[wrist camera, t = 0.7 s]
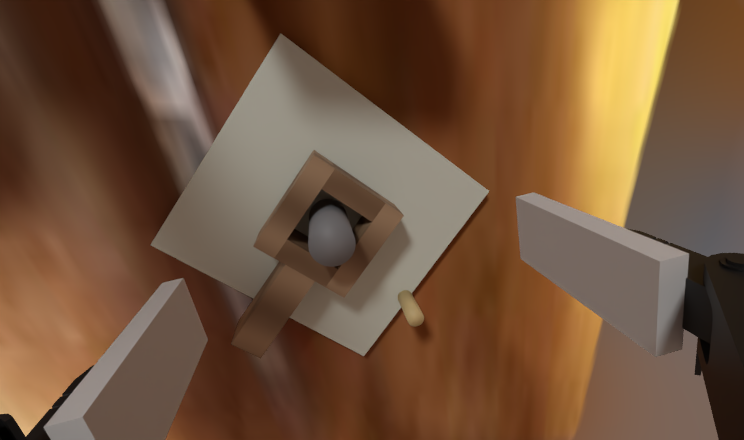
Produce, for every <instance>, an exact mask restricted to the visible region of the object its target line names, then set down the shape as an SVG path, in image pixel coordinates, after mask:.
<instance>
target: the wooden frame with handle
mask: <svg viewBox="0 0 744 440" xmlns="http://www.w3.org/2000/svg"><path fill="white" fill-rule="evenodd" d="M321 189H322V190H323V191H325V192H327V193H328V194H330V195H331V196H333V197H334V198H336V199H337V200H339V201H340V202H342V203H344V204H345V205H347V206H348V207H350V208H351V209H353V210H354V211H356V212H357V213H359V214H360V215H362V216H361V218H360V219H359V221H358V222H357V223H356V225H355V226H354V228H353V229H352V231H353V234H354V237H355V242H356V246H355V251H354V253H353V255H352V257H351V258H350V259H349V260H348V261H347V262H345V263H344V264H342V265H339V266H334V267H328V266H324V265H321V264H319V263H318V262H316V261H315V260H314V259H313V258H312V256H311V254H310V252H309V248H308V236H306V235H304V234H303V233H301V232H299V231H298V230H296V229H295V227H296V226H297V224H298V223H299V221H300V220H301V218H302V217H303V215H304V214H305V212H306V211H307V209H308V208H309V206H310V205H311V204H312V202H313V201H314V199H315V198H316V196H317V195H318V193H319V192H320V190H321ZM403 216H404V215H403V214H402V213H401V211H400V210H399V209H398V208H397V207H396V206H395V204H393V203H392V202H390V201H389V200H387V199H386V198H384V197H383V196H381V195H380V194H378V193H377V192H376V191H374V190H373V189H371V188H370V187H368V186H367V185H365V184H364V183H362V182H361V181H359V180H358V179H356V178H355V177H353V176H352V175H350V174H349V173H348V172H346V171H345V170H343V169H342V168H340V167H339V166H337V165H336V164H334V163H333V162H331V161H330V160H328V159H327V158H325V157H324V156H322V155H321V154H320V153H318V152H317V151H315V150H313V152H312V153H311V155H310V156H309V158H308V159H307V161H306V162H305V164H304V165H303V167H302V168H301V170H300V171H299V173H298V174H297V176H296V177H295V179H294V180H293V182H292V183H291V185H290V186H289V188H288V189H287V191H286V192H285V194H284V195H283V197H282V198H281V200H280V201H279V203H278V204H277V206H276V207H275V209H274V210H273V212H272V213H271V215H270V216H269V218H268V219H267V221H266V222H265V224H264V225H263V227H262V228H261V230H260V231H259V234H258V236H257V239H256V241H255V243H254V246H253V247H255V248H257V249H258V250H260V251H262V252H264V253H265V254H267V255H269V256H271V257H273V258H274V259H276V260H278V261H279V262H278V264H277V265H276V267H275V268H274V270H273V271H272V273H271V274H270V276H269V277H268V279H267V280H266V281H265V283H264V284H263V286H262V287H261V289H260V290H259V292H258V293H257V295H256V296H255V298H254V299H253V300H252V302H251V303H250V305H249V306H248V308H247V309H246V311H245V312H244V314H243V315H242V317H241V318H240V320H239V322H238V324H237V327H236V330H235V333H234V336H233V339H232V342H231V345H233V346H236V347H238V348H240V349H242V350H244V351H246V352H248V353H250V354H252V355H255V356H257V357H259V358H261V357H262V356H263V354H264V353H265V351H266V350H267V349H268V347H269V346H270V344H271V343H272V342H273V340H274V339H275V337H276V336H277V335H278V333H279V332H280V330H281V329H282V327H283V326H284V325H285V323H286V322H287V320H288V319H289V318H290V316H291V315H292V313H293V312H294V311H295V309H296V308H297V306H298V305H299V303H300V302H301V301H302V299H303V298H304V296H305V295H306V294H307V292H308V291H309V289H310V288H311V287H312V285H313V284H314V282H317V283H319V284H320V285H322V286H324V287H326V288H328V289H329V290H331V291H333V292H335V293H336V294H338V295H340V296H342V297H345V296H346V295H347V293H348V292H349V291H350V289H351V288H352V286H353V285H354V284H355V282H356V281H357V280H358V278H359V277H360V275H361V274H362V273H363V271H364V270H365V269H366V267H367V266H368V264H369V263H370V262H371V260H372V259H373V258H374V256H375V255H376V253H377V252H378V251H379V249H380V248H381V247H382V245H383V244H384V242H385V241H386V240H387V238H388V237H389V236H390V234H391V233H392V231H393V230H394V229H395V227H396V226H397V225H398V223H399V222H400V220H401V219H402V218H403Z"/></svg>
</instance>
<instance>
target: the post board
mask: <svg viewBox="0 0 744 440" xmlns="http://www.w3.org/2000/svg"><path fill="white" fill-rule="evenodd" d="M313 150H315V151H317V152H318V153H320V154H321V155H322V156H324V157H325V158H327V159H328V160H330V161H331V162H333V163H334V164H336V165H337V166H339V167H340V168H342V169H343V170H345V171H346V172H348V173H349V174H350V175H352V176H353V177H355V178H356V179H358V180H359V181H361V182H362V183H364V184H365V185H367V186H368V187H370V188H371V189H373V190H374V191H376V192H377V193H378V194H380V195H381V196H383V197H384V198H386V199H387V200H389V201H390V202H392V203H393V204H395V206H396V207H397V208H398V209H399V210H400V211H401V213H402V214H403V215H404V216H403V218H402V219H401V220H400V222H399V223H398V225H397V226H396V227H395V229H394V230H393V231H392V233H391V234H390V236H389V237H388V238H387V240H386V241H385V242H384V244H383V245H382V247H381V248H380V249H379V251H378V252H377V253H376V255H375V256H374V258H373V259H372V260H371V262H370V263H369V264H368V266H367V267H366V269H365V270H364V271H363V273H362V274H361V275H360V277H359V278H358V280H357V281H356V282H355V284H354V285H353V286H352V288H351V289H350V291H349V292H348V293H347V295H346V296H345V297H342V296H340V295H338V294H336V293H335V292H333V291H331V290H329V289H328V288H326V287H324V286H322V285H320V284H319V283H317V282H314V284H313V285H312V287H311V288H310V289H309V291H308V292H307V294H306V295H305V296H304V298H303V299H302V301H301V302H300V303H299V305H298V306H297V308H296V309H295V311H294V312H293V313H292V315H291V316H290V318H291V319H293V320H295V321H297V322H299V323H301V324H303V325H305V326H307V327H309V328H310V329H312V330H314V331H316V332H318V333H320V334H322V335H324V336H326V337H328V338H330V339H332V340H334V341H335V342H337V343H339V344H341V345H343V346H345V347H347V348H349V349H351V350H353V351H355V352H357V353H359V354H360V355H362V356H364V355H365V354H366V353H367V352H368V350H369V349H370V348H371V346H372V345H373V344H374V342H375V341H376V340H377V338H378V337H379V336H380V334H381V333H382V332H383V330H384V329H385V328H386V327H387V325H388V324H389V323H390V321H391V320H392V319H393V317H394V316H395V315H396V313H397V312H398V311H399V309H400V308H402V310H403V312H404V314H405V317H406V319H407V321H408V323H409V324H410V325H411V326H414V327H415V326H419V325H421V324H422V323H423V321H424V315H423V314H422V312H421V310H420V308H419V306H418V304H417V302H416V301H415V299H414V297H413V295H412V292H413V291H414V290H415V288H416V287H417V286H418V284H419V283H420V282H421V280H422V279H423V278H424V277H425V275H426V274H427V273H428V271H429V270H430V269H431V267H432V266H433V265H434V263H435V262H436V261H437V259H438V258H439V257H440V255H441V254H442V253H443V252H444V250H445V249H446V248H447V246H448V245H449V244H450V242H451V241H452V240H453V238H454V237H455V236H456V234H457V233H458V232H459V230H460V229H461V228H462V227H463V225H464V224H465V223H466V221H467V220H468V219H469V217H470V216H471V215H472V213H473V212H474V211H475V209H476V208H477V207H478V205H479V204H480V203H481V202H482V200H483V199H484V198H485V196H486V195H487V194H488V192H489V191H488V190H487V189H485V188H484V187H483V186H482V185H480V184H479V183H478V182H476V181H475V180H474V179H472V178H471V177H470V176H468V175H467V174H466V173H464V172H463V171H462V170H460V169H459V168H458V167H456V166H455V165H454V164H452V163H451V162H450V161H449V160H447V159H446V158H445V157H443V156H442V155H441V154H439V153H438V152H437V151H435V150H434V149H433V148H431V147H430V146H429V145H427V144H426V143H425V142H423V141H422V140H421V139H420V138H418V137H417V136H416V135H414V134H413V133H412V132H410V131H409V130H408V129H406V128H405V127H404V126H402V125H401V124H400V123H398V122H397V121H396V120H394V119H393V118H392V117H391V116H389V115H388V114H387V113H385V112H384V111H383V110H381V109H380V108H379V107H377V106H376V105H375V104H373V103H372V102H371V101H369V100H368V99H367V98H365V97H364V96H363V95H361V94H360V93H359V92H358V91H356V90H355V89H354V88H352V87H351V86H350V85H348V84H347V83H346V82H344V81H343V80H342V79H340V78H339V77H338V76H336V75H335V74H334V73H332V72H331V71H330V70H329V69H327V68H326V67H325V66H323V65H322V64H321V63H319V62H318V61H317V60H315V59H314V58H313V57H311V56H310V55H309V54H307V53H306V52H305V51H303V50H302V49H301V48H300V47H298V46H297V45H296V44H294V43H293V42H292V41H290V40H289V39H288V38H286V37H285V36H284V35H282V34H281V33H280V35H279V37H278V38H277V40H276V42H275V43H274V45H273V46H272V48H271V50H270V51H269V53H268V55H267V56H266V58H265V59H264V61H263V63H262V64H261V66H260V68H259V69H258V71H257V72H256V74H255V76H254V77H253V79H252V81H251V82H250V84H249V85H248V87H247V89H246V90H245V92H244V94H243V95H242V97H241V98H240V100H239V102H238V103H237V105H236V107H235V108H234V110H233V111H232V113H231V115H230V116H229V118H228V120H227V121H226V123H225V124H224V126H223V128H222V129H221V131H220V133H219V134H218V136H217V137H216V139H215V141H214V142H213V144H212V146H211V147H210V149H209V150H208V152H207V154H206V155H205V157H204V159H203V160H202V162H201V164H200V165H199V167H198V168H197V170H196V172H195V173H194V175H193V177H192V178H191V180H190V181H189V183H188V185H187V186H186V188H185V190H184V191H183V193H182V194H181V196H180V198H179V199H178V201H177V203H176V204H175V206H174V207H173V209H172V211H171V212H170V214H169V216H168V217H167V219H166V220H165V222H164V224H163V225H162V227H161V229H160V230H159V232H158V233H157V235H156V237H155V238H154V240H153V242H152V243H151V246H153V247H155V248H157V249H159V250H161V251H163V252H164V253H166V254H168V255H170V256H172V257H174V258H176V259H178V260H180V261H182V262H184V263H186V264H188V265H189V266H191V267H193V268H195V269H197V270H199V271H201V272H203V273H205V274H207V275H209V276H211V277H212V278H214V279H216V280H218V281H220V282H222V283H224V284H226V285H228V286H230V287H232V288H234V289H236V290H237V291H239V292H241V293H243V294H245V295H247V296H249V297H251V298H253V299H254V298H255V296H256V295H257V293H258V292H259V290H260V289H261V287H262V286H263V284H264V283H265V281H266V280H267V279H268V277H269V276H270V274H271V273H272V271H273V270H274V268H275V267H276V265H277V264H278V262H279V261H278V260H276V259H274V258H273V257H271V256H269V255H267V254H265V253H264V252H262V251H260V250H258V249H257V248H255V247H253V246H254V243H255V241H256V239H257V236H258V234H259V231H260V230H261V228H262V227H263V225H264V224H265V222H266V221H267V219H268V218H269V216H270V215H271V213H272V212H273V210H274V209H275V207H276V206H277V204H278V203H279V201H280V200H281V198H282V197H283V195H284V194H285V192H286V191H287V189H288V188H289V186H290V185H291V183H292V182H293V180H294V179H295V177H296V176H297V174H298V173H299V171H300V170H301V168H302V167H303V165H304V164H305V162H306V161H307V159H308V158H309V156H310V155H311V153H312V152H313ZM361 216H362V215H360V214H359V213H357V212H356V211H354V210H353V209H351V208H350V207H348V206H347V205H345V204H344V203H342V202H340V201H339V200H337V199H336V198H334V197H333V196H331V195H330V194H328V193H327V192H325V191H323V190H322V189H321V190H320V192H319V193H318V195H317V196H316V198H315V199H314V201H313V202H312V204H311V205H310V206H309V208H308V209H307V211H306V212H305V214H304V215H303V217H302V218H301V220H300V221H299V223H298V224H297V226H296V227H295V229H296V230H298V231H299V232H301V233H303V234H304V235H306V236H308V248H309V252H310V254H311V256H312V258H313V259H314V260H315V261H316V262H318V263H319V264H321V265H324V266H328V267H334V266H339V265H342V264H344V263H345V262H347V261H348V260H349V259H350V258H351V257H352V255H353V253H354V251H355V246H356V242H355V237H354V234H353V231H352V229H353V228H354V226H355V225H356V223H357V222H358V221H359V219H360V218H361Z"/></svg>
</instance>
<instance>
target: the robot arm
mask: <svg viewBox="0 0 744 440" xmlns="http://www.w3.org/2000/svg"><path fill="white" fill-rule="evenodd" d="M516 207H517V219H518V231H519V244H520V256H521V259H522V260H523V261H524V262H526V263H527V264H529V265H530V266H531V267H533V268H534V269H535V270H537V271H538V272H540V273H541V274H542V275H544V276H545V277H546V278H548V279H549V280H551V281H552V282H553V283H555V284H556V285H557V286H559V287H560V288H561V289H563V290H564V291H566V292H567V293H568V294H570V295H571V296H572V297H574V298H575V299H577V300H578V301H579V302H581V303H582V304H583V305H585V306H586V307H588V308H589V309H590V310H592V311H593V312H594V313H596V314H597V315H598V316H600V317H601V318H603V319H604V320H605V321H607V322H608V323H610V324H611V325H612V326H614V327H615V328H616V329H618V330H619V331H620V332H622V333H623V334H625V335H626V336H627V337H629V338H630V339H631V340H633V341H634V342H635V343H637V344H638V345H640V346H641V347H642V348H644V349H645V350H647V351H648V352H649V353H651V354H652V355H653V356H655V357H657V356H661V355H665V354H668V353H671V352H675V351H678V350H681V349H682V344H683V343H682V342H683V331H684V330H683V329H685V330H687V331H689V332H691V333H692V334H694V335H695V336H697V337H698V343H697V354H696V366H695V375H701V371H702V373H703V377H704V381H705V385H706V389H707V393H708V398H709V402H710V405H711V410H712V414H713V418H714V422H715V426H716V430H717V434H718V438H719V440H744V254H740V253H720V254H716V255H711V256H709V257H706V256H704V255H701V254H699V253H696V252H693V251H691V250H688V249H685V248H683V247H680V246H678V245H675V244H672V243H670V244H669V243H668V242H667V241H665V240H662V239H659V238H658V239H656V237H654V236H652V235H649V234H646V233H644V232H641V231H636V230H631V229H625V228H623V227H620V226H617V225H615V224H612V223H610V222H607V221H605V220H602V219H600V218H597V217H595V216H592V215H589V214H587V213H584V212H582V211H579V210H577V209H574V208H572V207H569V206H567V205H564V204H561V203H559V202H556V201H554V200H551V199H549V198H546V197H544V196H541V195H539V194H536V193H530V194H525V195H521V196H517V197H516ZM207 341H208V338H207V336H206V333H205V331H204V328H203V326H202V323H201V321H200V318H199V316H198V313H197V311H196V308H195V306H194V303H193V301H192V298H191V296H190V293H189V291H188V288H187V285H186V283H185V280H184V278H180V279H176V280H172V281H168V282H164V283H162V284H161V285H160V286H159V288H158V289H157V290H156V291H155V292H154V294H153V295H152V296H151V297H150V299H149V300H148V301H147V302H146V303H145V305H144V306H143V307H142V308H141V309H140V311H139V312H138V313H137V314H136V316H135V317H134V318H133V319H132V320H131V322H130V323H129V324H128V325H127V326H126V328H125V329H124V330H123V331H122V333H121V334H120V335H119V336H118V337H117V339H116V340H115V341H114V342H113V343H112V345H111V346H110V347H109V348H108V350H107V351H106V352H105V353H104V354H103V356H102V357H101V358H100V359H99V360H98V362H97V363H96V364H95V365H93V366H91V367H90V368H89V369H88V370H86V371H85V372H84V373H83V374H81V375H80V376H79V377H78V378H76V379H75V380H74V381H73V382H72V384H71V385H70V386H69V387H68V388H67V389H66V391H65V392H64V393H63V394H62V395H63V396H62V397H60V398H59V399H58V400H57V401H56V402H55V403H54V405H53V406H52V409H49V411H48V412H47V413H46V414H45V415H44V416H43V418H42V419H41V420H40V421H39V422H38V423H37V425H36V426H35V427H34V428H33V429H32V430H31V432H30V433H29V434H28V435H27V436H26V437H25V435H24V434H23V432H22V431H21V429H20V427H19V426H18V424H17V423H16V421H15V420H14V418H13V417H12V416H11V415H9V414H0V440H165V439H166V436H167V434H168V432H169V429H170V427H171V425H172V422H173V420H174V418H175V415H176V413H177V411H178V409H179V406H180V404H181V402H182V399H183V397H184V395H185V392H186V390H187V388H188V385H189V383H190V381H191V378H192V376H193V374H194V371H195V369H196V367H197V364H198V362H199V360H200V357H201V355H202V353H203V350H204V348H205V346H206V343H207Z"/></svg>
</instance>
